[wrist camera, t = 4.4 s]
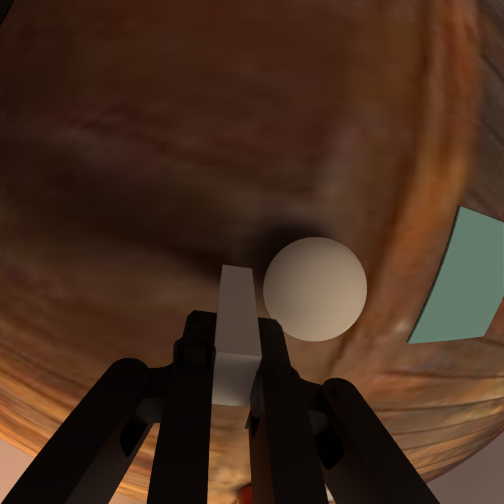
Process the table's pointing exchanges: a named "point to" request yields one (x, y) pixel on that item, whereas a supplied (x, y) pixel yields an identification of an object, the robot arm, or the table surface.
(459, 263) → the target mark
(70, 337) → the table surface
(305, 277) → the ball
